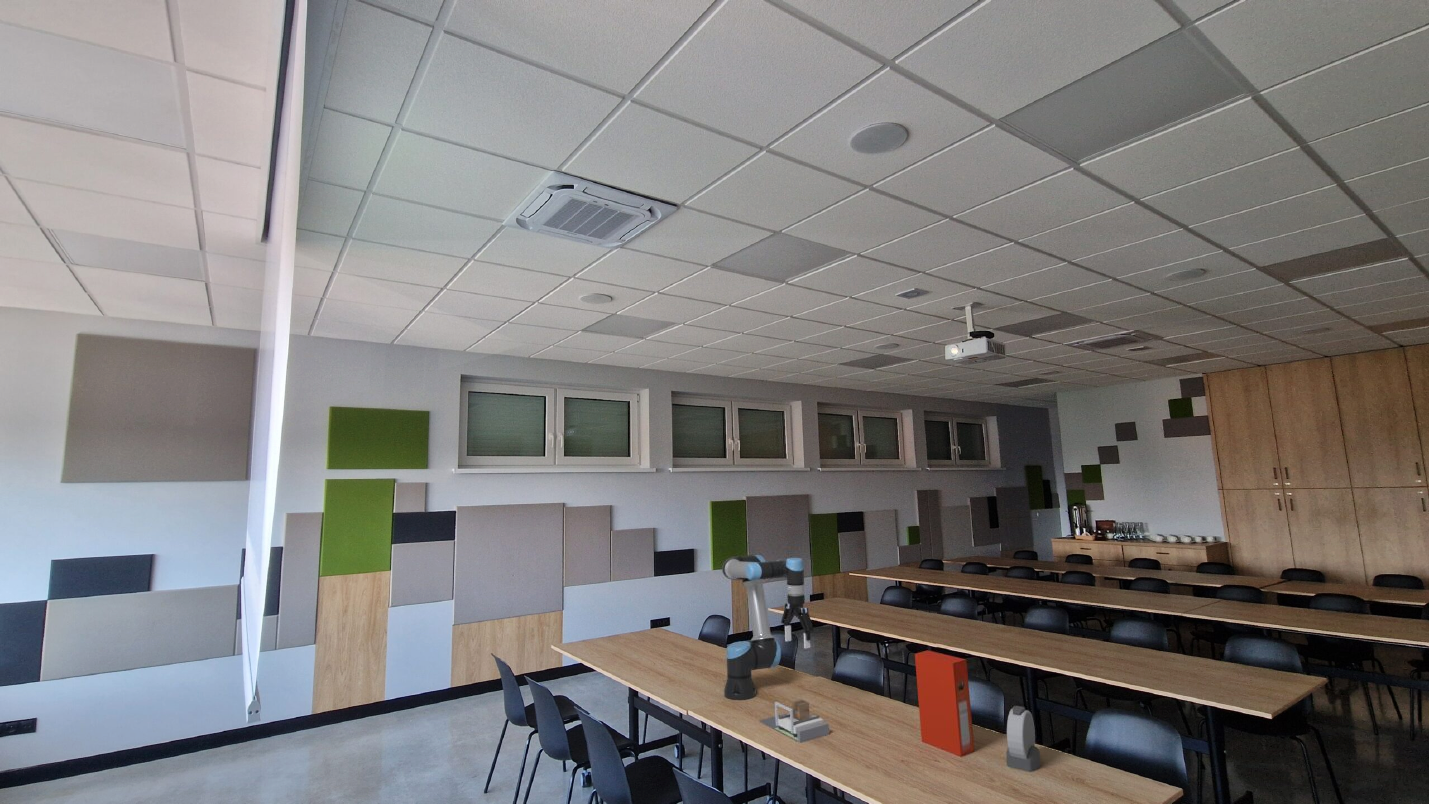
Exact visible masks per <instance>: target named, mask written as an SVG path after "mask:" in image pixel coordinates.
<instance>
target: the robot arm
mask: <svg viewBox="0 0 1429 804" xmlns="http://www.w3.org/2000/svg"><path fill="white" fill-rule="evenodd" d="M721 571H722V574H723V576H724V577H726V578H727V579H729V580H733V581H734V580H735V581H741V580H742V585H744V587H746V588H745V589H746V593H747V595H746V596H747V602H748V607H749V616H750V622H751V628H752V635H753V636H752V638H751V640H750V641H746V640H743V641H735V642H732V643H730V644H728V645H727V647H726V655H725V656H726V673H727V674H726V681H725V686H724V690H723V695H724V697H725V698H727V699H730V700H736V701H737V700H738V701H740V700H744V701H745V700H749V699H752V698H754V697H756V695H757V690H756V686H755V684H754V680H753V678H752V677H753V675H752V671H756V670H757V671H758V670H764V669H771V668H775V667H777V666H779V664H780V662H781V658H782V649H781V645H780V643H779V641H777V640H775V637H774V636H773V635H772V633H771V628H770V627H771V626H770V621H769V616H768V609H767V603H766V595H765V588H764V583H765V582H766V579H767V580H771V579H781V578H784V579H786V587H787V588H786V590H787V592H786V593H787V599H786V600H787V603H784V611H783V613H782V617H781V620H780V622H781V624H783V626H784V639H785V642H792V625H791V622H792V620H793V619H794V617H796V618H797V619H798V620H799V622H800V624H801V626H802V628H803V630H804V632H803V648H804V649H810V648H811V639H812V638H811V633H813V632H814V630H815V629H814V626H813V623H812V620H811V616H810V613H809V607H804V604H805V602H806V600H805V599H806V598H805V597H806V596H805V566H804V560H803V559H802V558H801V557H789V558H787V559H780V558H779V559H777V560H772V561H771V560H769V561H767V560H765V558H764V556H762V555H761V554H760V555H759V554H750V555H749V554H748V555H738V556H737V555H736V556H731V557H729V558H727V559H726V560H725V561H724V562H723V564H722V566H721Z"/></svg>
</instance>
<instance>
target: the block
mask: <svg viewBox="0 0 1429 804" xmlns="http://www.w3.org/2000/svg"><path fill="white" fill-rule="evenodd" d="M790 703H791V709H793V718H794V719H797V720H799V721H800V720H803V719H807V718H810V715H809V713H810V702H808V701H806V700H804V699H802V698H801V699H797V700H793V701H791V702H790Z"/></svg>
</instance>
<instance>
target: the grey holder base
mask: <svg viewBox="0 0 1429 804" xmlns="http://www.w3.org/2000/svg"><path fill="white" fill-rule="evenodd" d="M787 714H788V713H783V714H780V715H779V714H778V717H779V716H783V715H787ZM758 722H759V723H762V724H763V725H765V726H767V727H770V728H771V729H773V730H775V731H777V732H779V733H781V734H782V735H785V737H789V738H790V739H792V740H794V741H796V742H798V743H799V744H800V743H805V742H808V741H811V740H814V739H819V738H822V737H824V736H829V735H830V729H829V727H830V726H829V723H828V722H823V723H822V724H819V725H815V726H811V727H808V728H804V729H801V730H797V736H796V737H794V736H793V734H792V733H791V731H789V730H787V729H785V728H784V729H782V730H781V729H780V728H779V725H778V726H776V718H775V716H772V717H768V718H764V719H759V720H758Z"/></svg>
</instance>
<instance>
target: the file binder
mask: <svg viewBox="0 0 1429 804" xmlns="http://www.w3.org/2000/svg"><path fill="white" fill-rule="evenodd" d="M914 659H915V671H916V672H915V674H916V684H917V685H916V686H917V698H918V699H917V700H918V709H919V711H918V712H919V723H920V725H919V726H920V736H921V742H922V743H924V744H928V745H930V746H933V747H936V748H937V749H940V750H943V751H945V752H948V753H950V754H953V755H955V756H958V757H960V758H962V757H964V756H967V755H969V754H971V753H973V752H975V743H974V742H975V741H974V729H973V719H972V709H971V696H970V686H969V685H970V684H969V676H968V675H969V674H968V664H967V663H968V661H967V659H965V658H961V657H957V656H953V655H949V654H944V653H941V652H936V651H934V650H933V651H932V650H929V649H928V650H924V651H920V652H917V653H916V652H915V653H914Z"/></svg>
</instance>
